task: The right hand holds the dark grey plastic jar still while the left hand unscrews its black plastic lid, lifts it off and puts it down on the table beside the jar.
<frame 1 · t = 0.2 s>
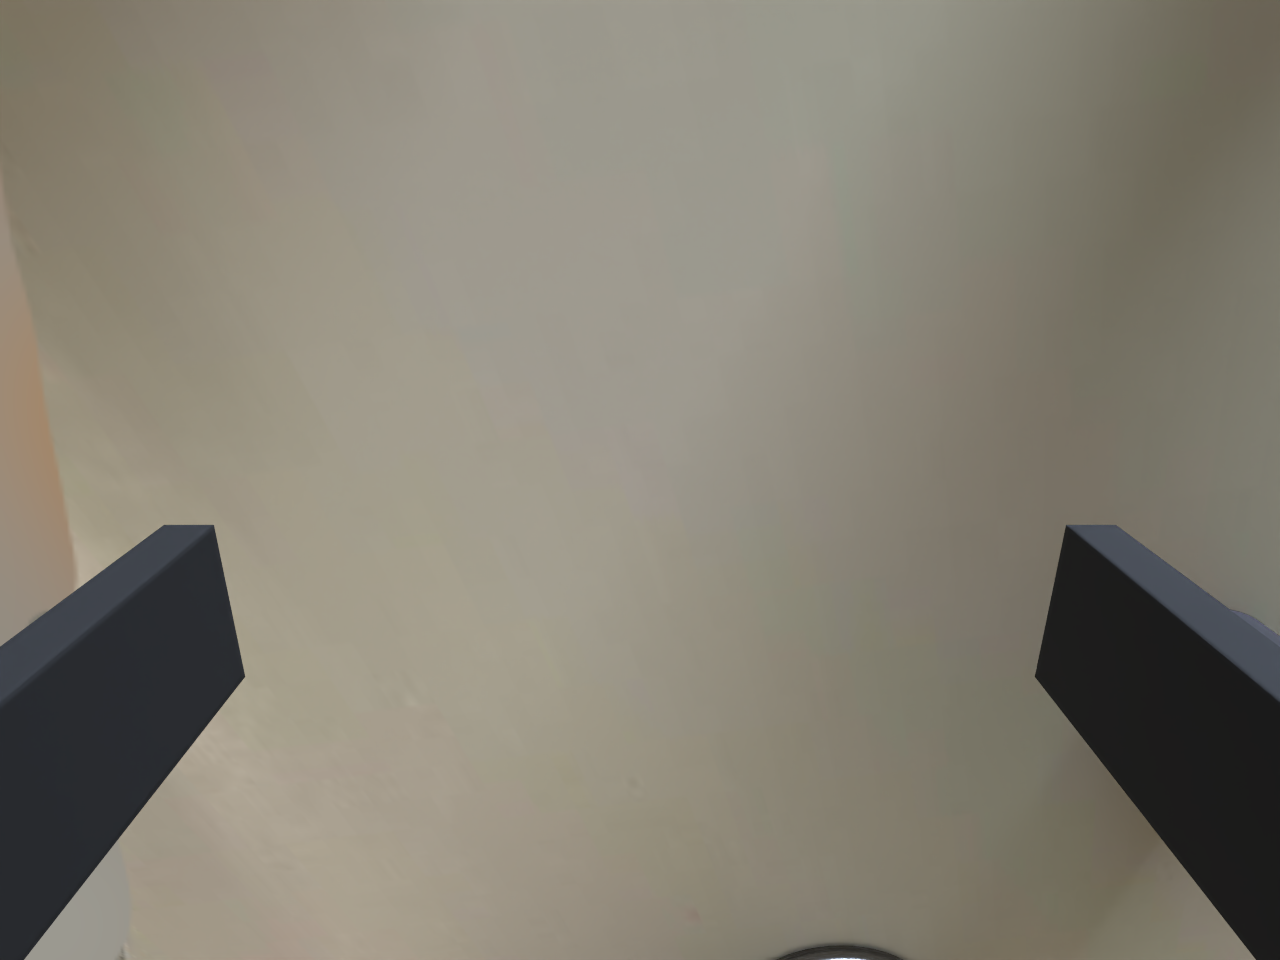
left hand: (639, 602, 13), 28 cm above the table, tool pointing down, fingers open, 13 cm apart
jar: (1195, 677, 46), on the table
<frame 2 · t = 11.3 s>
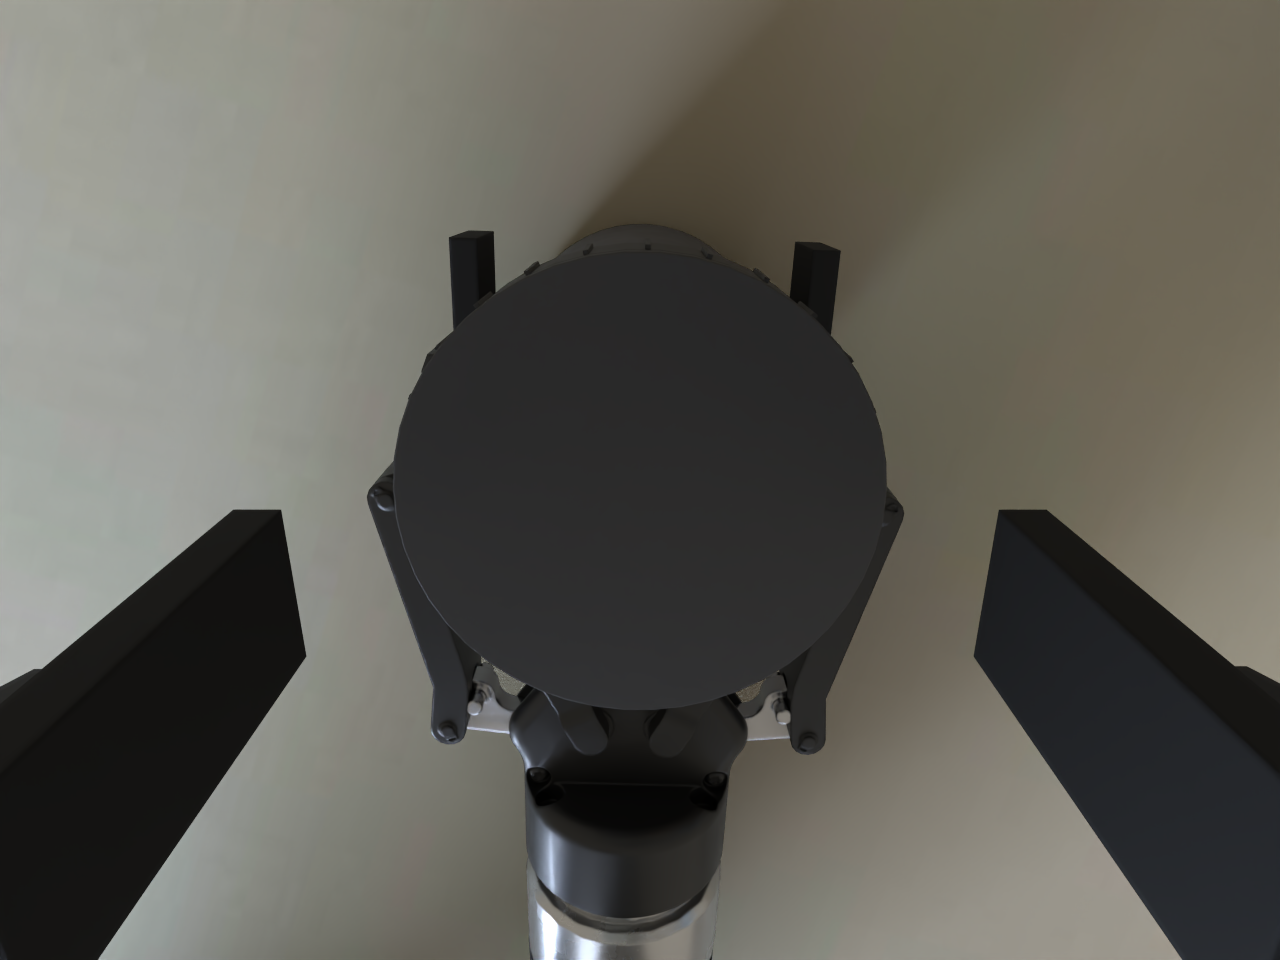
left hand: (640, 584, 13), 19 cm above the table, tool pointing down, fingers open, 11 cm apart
right hand: (644, 240, 23), fingers closed on jar, 9 cm apart
jar: (639, 349, 31), on the table, touching right hand
lid: (639, 499, 17), point 15 cm above the table, screwed on, not yet turned
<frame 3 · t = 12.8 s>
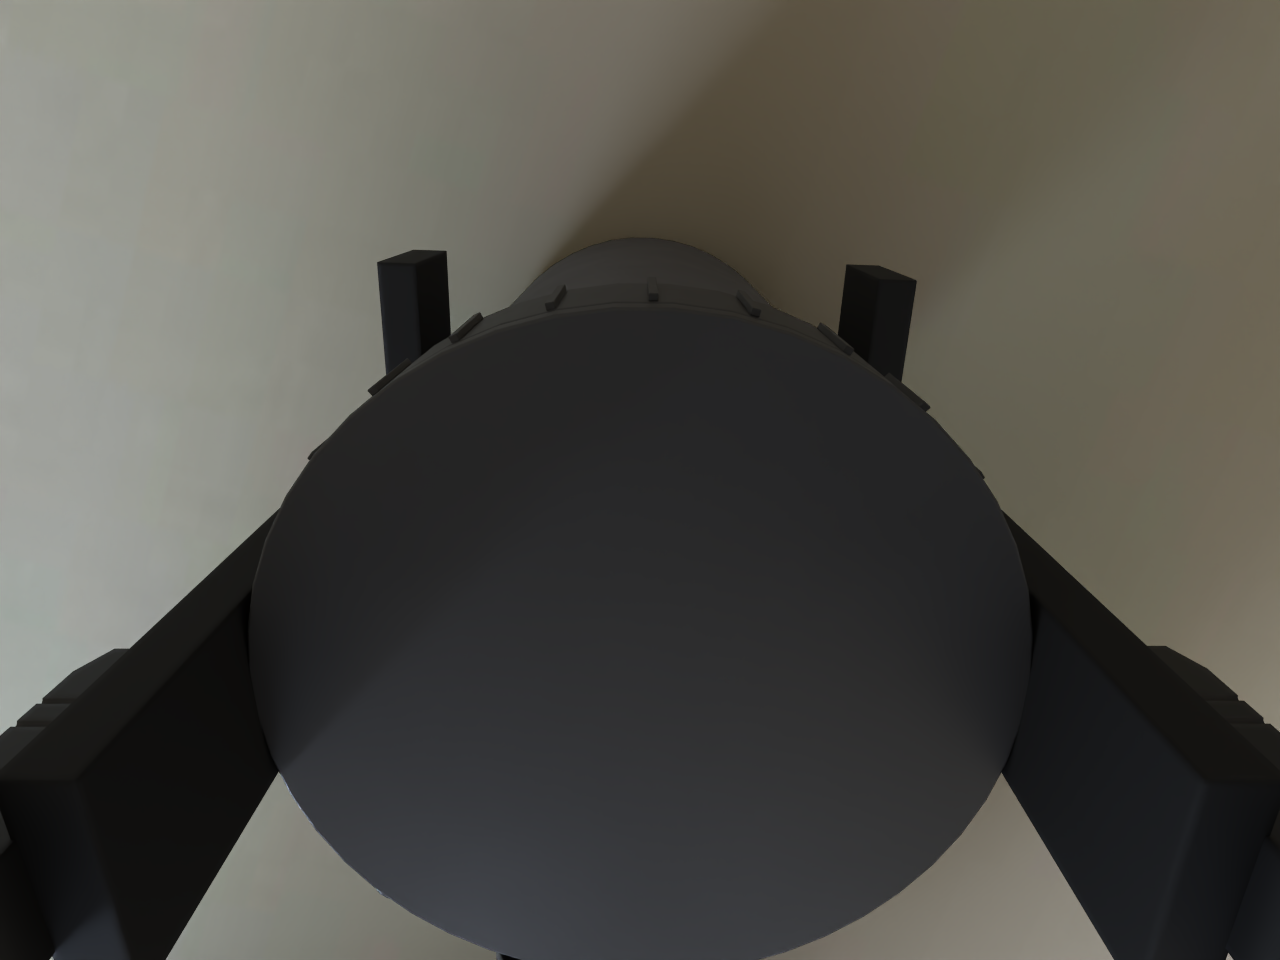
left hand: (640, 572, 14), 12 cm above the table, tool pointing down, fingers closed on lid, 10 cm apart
jar: (640, 392, 25), on the table, touching right hand
lid: (640, 683, 11), point 15 cm above the table, screwed on, not yet turned, touching left hand
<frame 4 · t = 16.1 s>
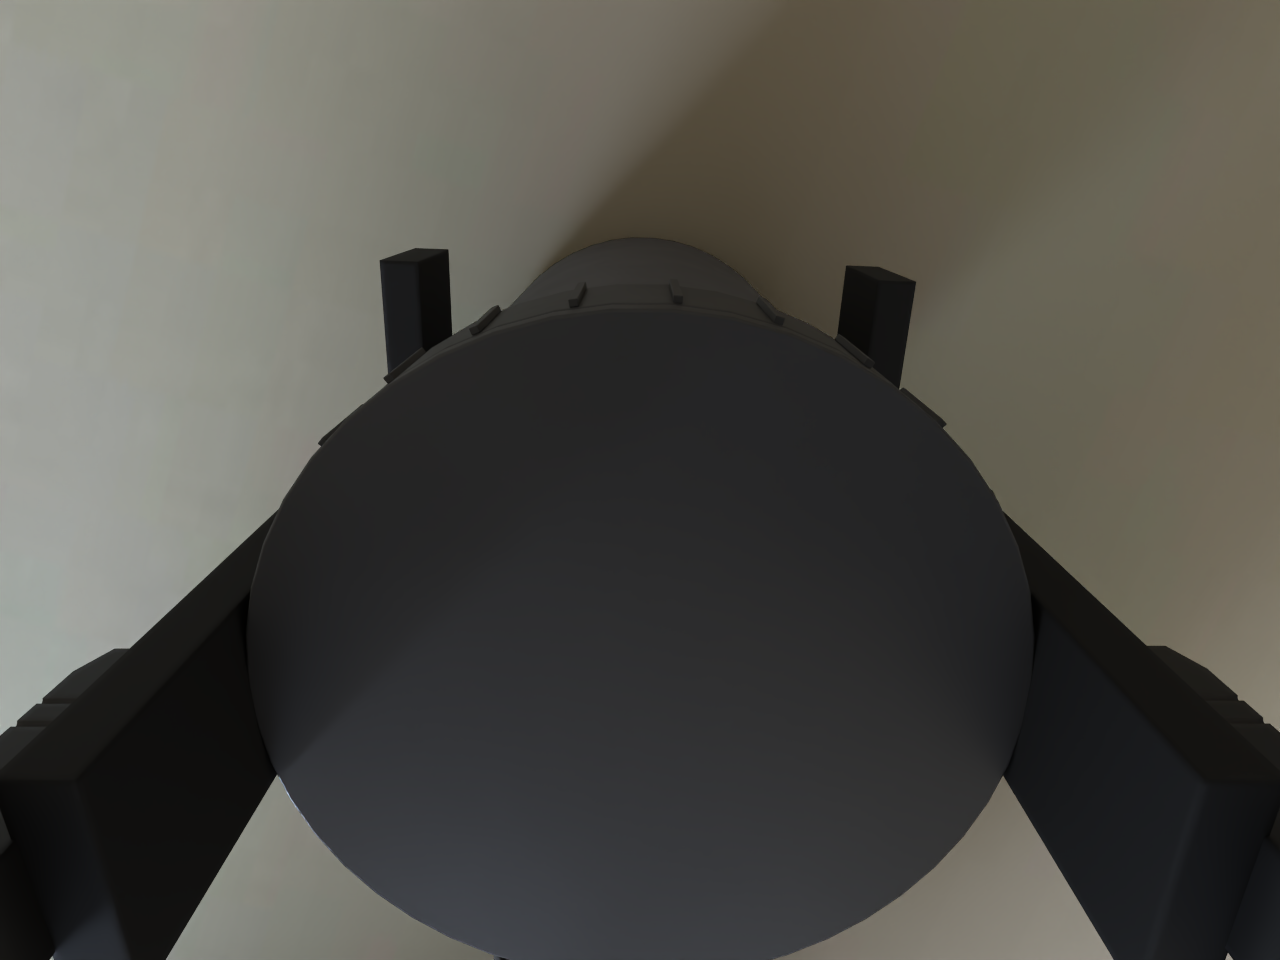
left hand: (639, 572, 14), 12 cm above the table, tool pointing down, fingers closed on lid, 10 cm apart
jar: (640, 391, 25), on the table, touching right hand
lid: (640, 685, 11), point 15 cm above the table, turned 91° so far, risen 0.1 cm, still on its thread, touching left hand
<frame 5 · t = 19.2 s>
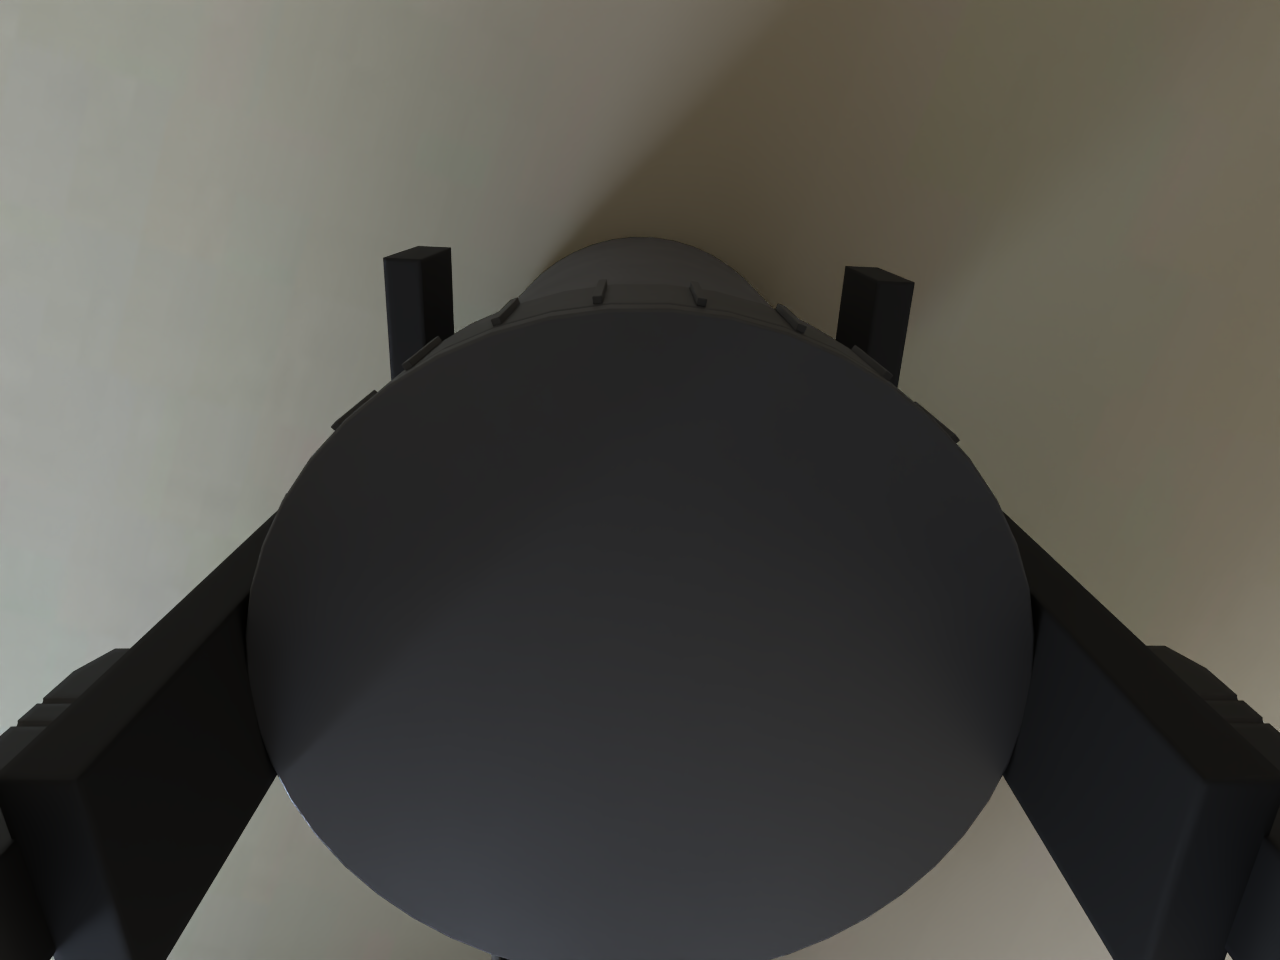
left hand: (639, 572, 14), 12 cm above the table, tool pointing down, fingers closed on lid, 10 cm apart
jar: (640, 390, 25), on the table, touching right hand
lid: (639, 685, 11), point 15 cm above the table, turned 181° so far, risen 0.3 cm, still on its thread, touching left hand
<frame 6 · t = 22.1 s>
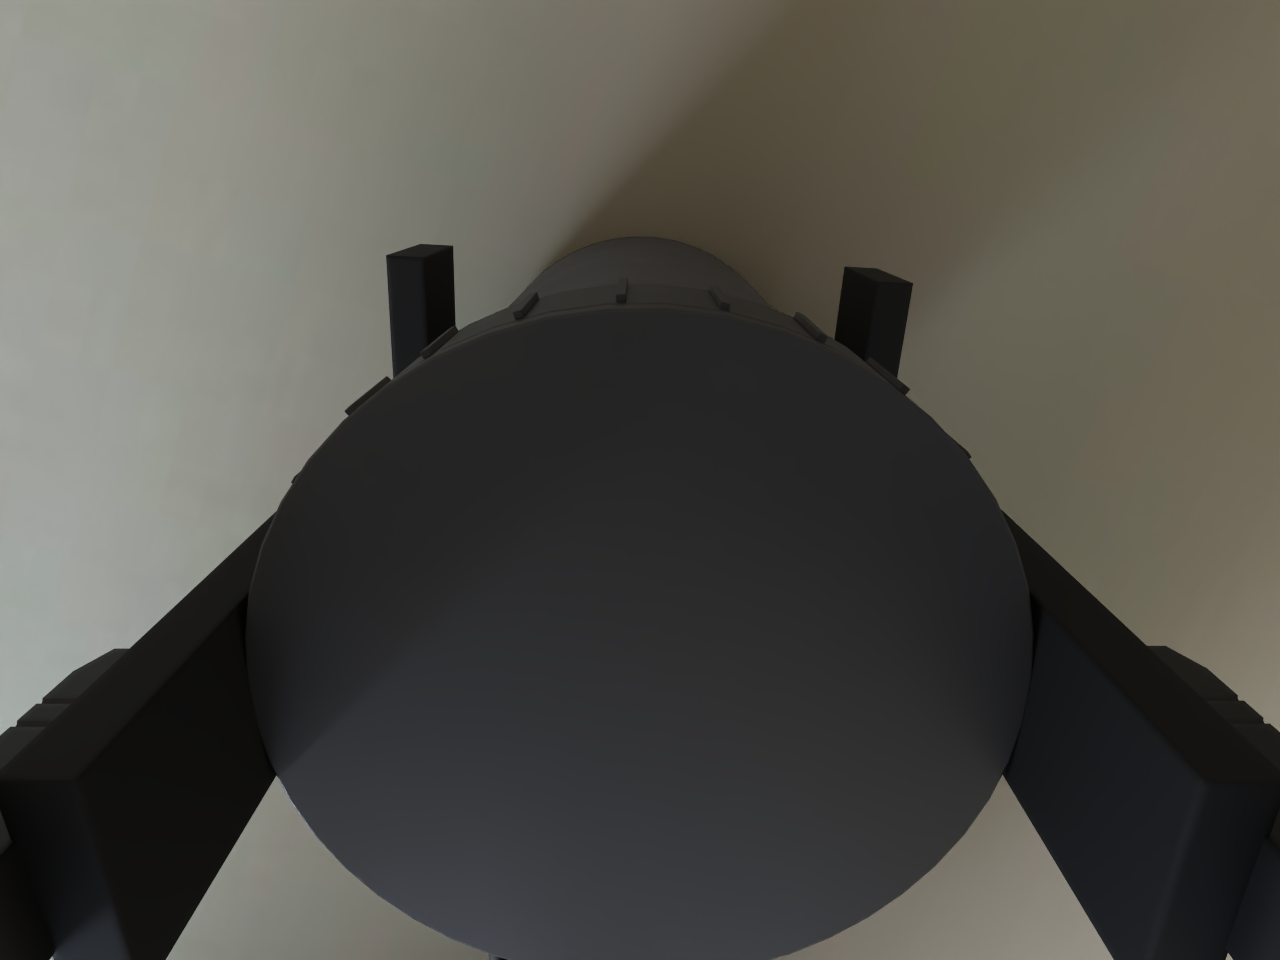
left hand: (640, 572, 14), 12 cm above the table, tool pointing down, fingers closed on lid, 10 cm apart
jar: (639, 388, 25), on the table, touching right hand
lid: (639, 686, 11), point 16 cm above the table, turned 272° so far, risen 0.4 cm, still on its thread, touching left hand
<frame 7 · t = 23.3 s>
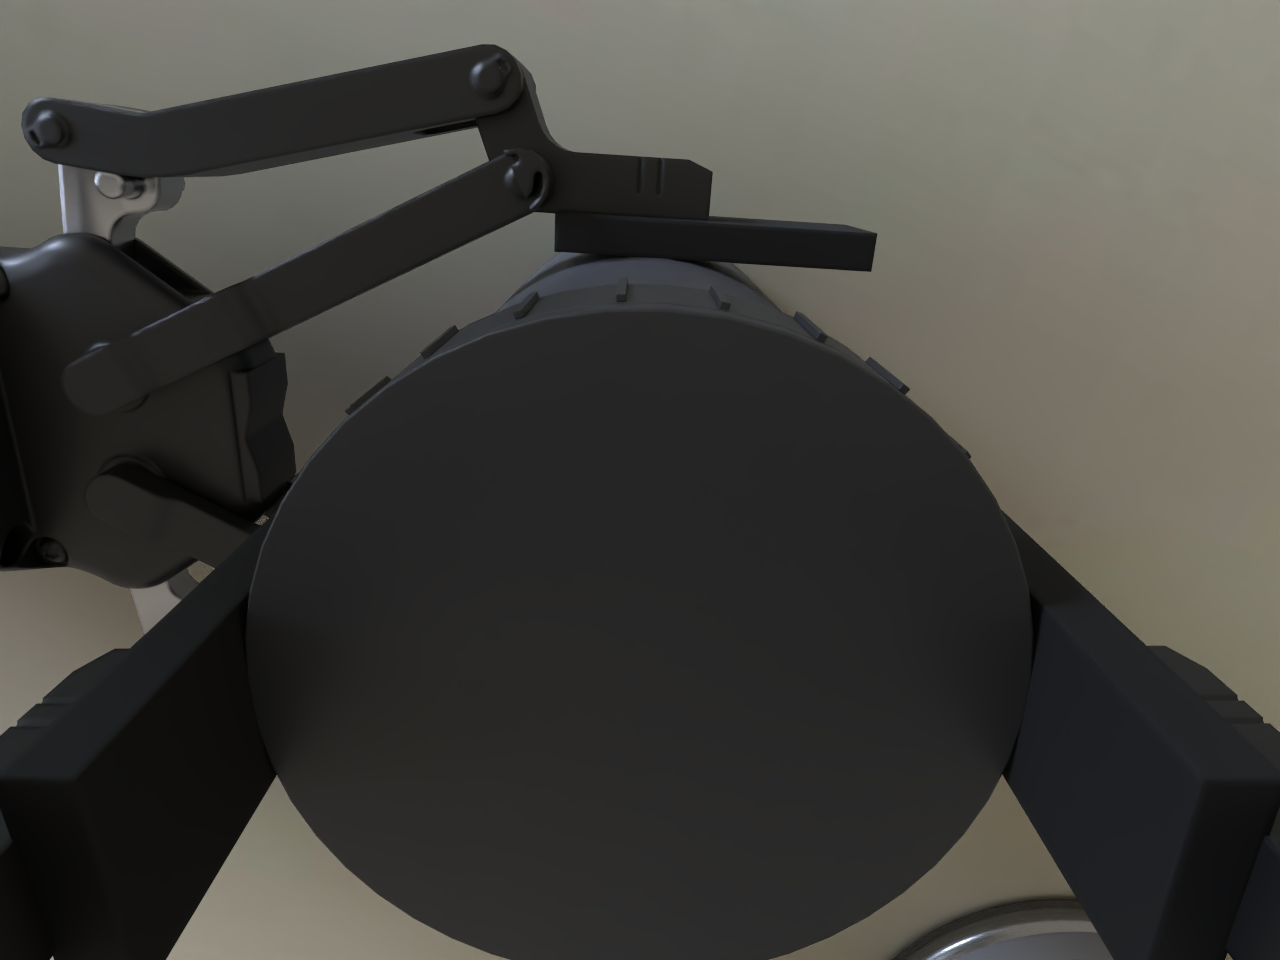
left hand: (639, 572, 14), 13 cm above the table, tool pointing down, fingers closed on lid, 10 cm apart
right hand: (824, 458, 19), fingers closed on jar, 9 cm apart
jar: (639, 381, 25), on the table, touching right hand
lid: (639, 685, 11), point 16 cm above the table, off its thread, touching left hand
when the left hand's fingers open (0 cm above the table, at t = 30.0 s): lid drops 2 cm, point 2 cm above the table.
when the right hand's fingers open (7 cm above the table, at t = 31.0 s): jar stays where it is, on the table.
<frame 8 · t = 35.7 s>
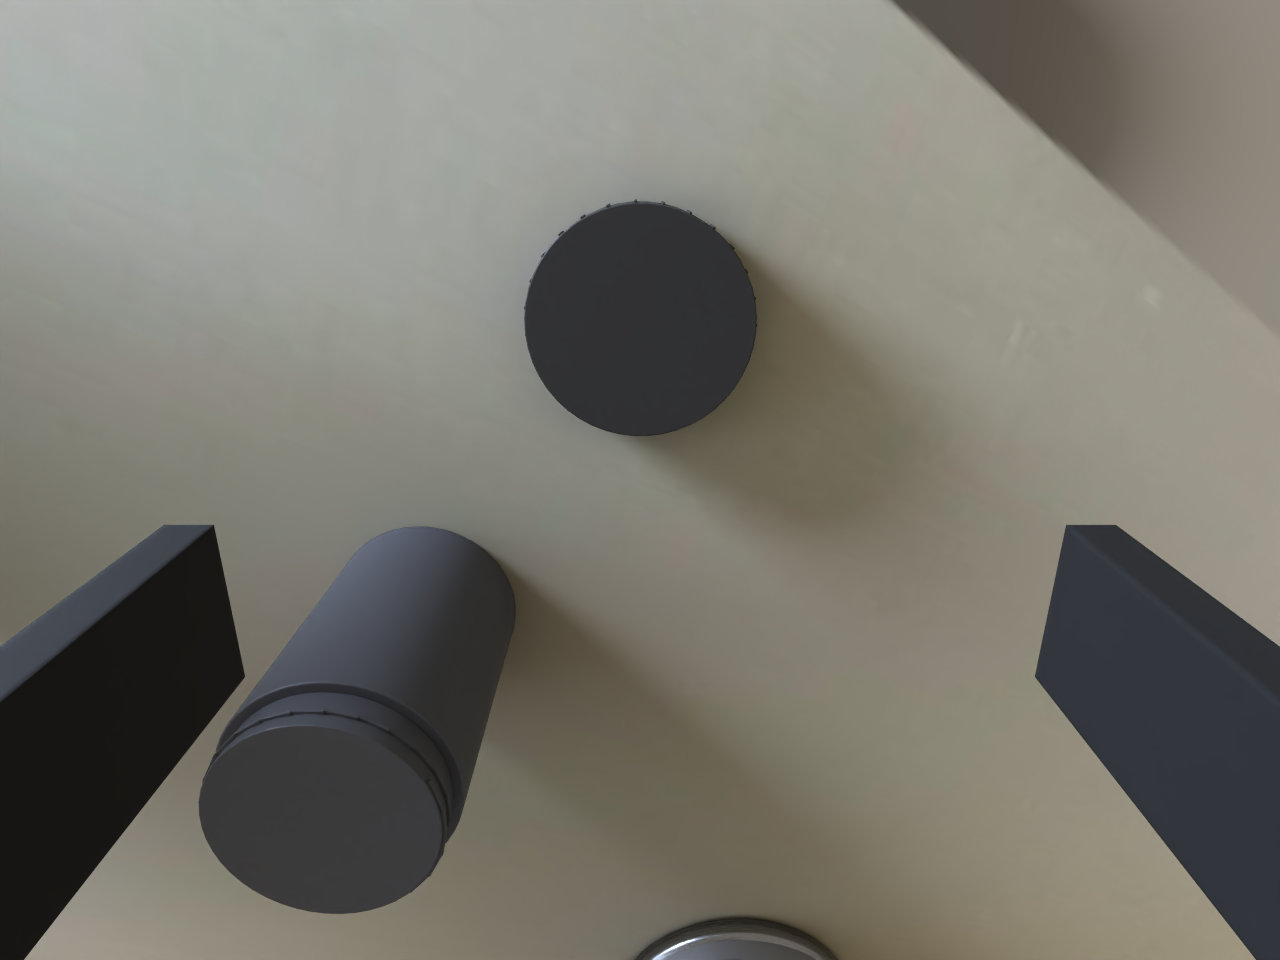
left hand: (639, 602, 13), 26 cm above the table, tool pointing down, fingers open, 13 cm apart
jar: (427, 606, 42), on the table
lid: (640, 324, 35), point 2 cm above the table, off its thread
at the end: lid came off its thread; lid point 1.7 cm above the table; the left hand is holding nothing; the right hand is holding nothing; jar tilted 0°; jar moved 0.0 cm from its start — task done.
